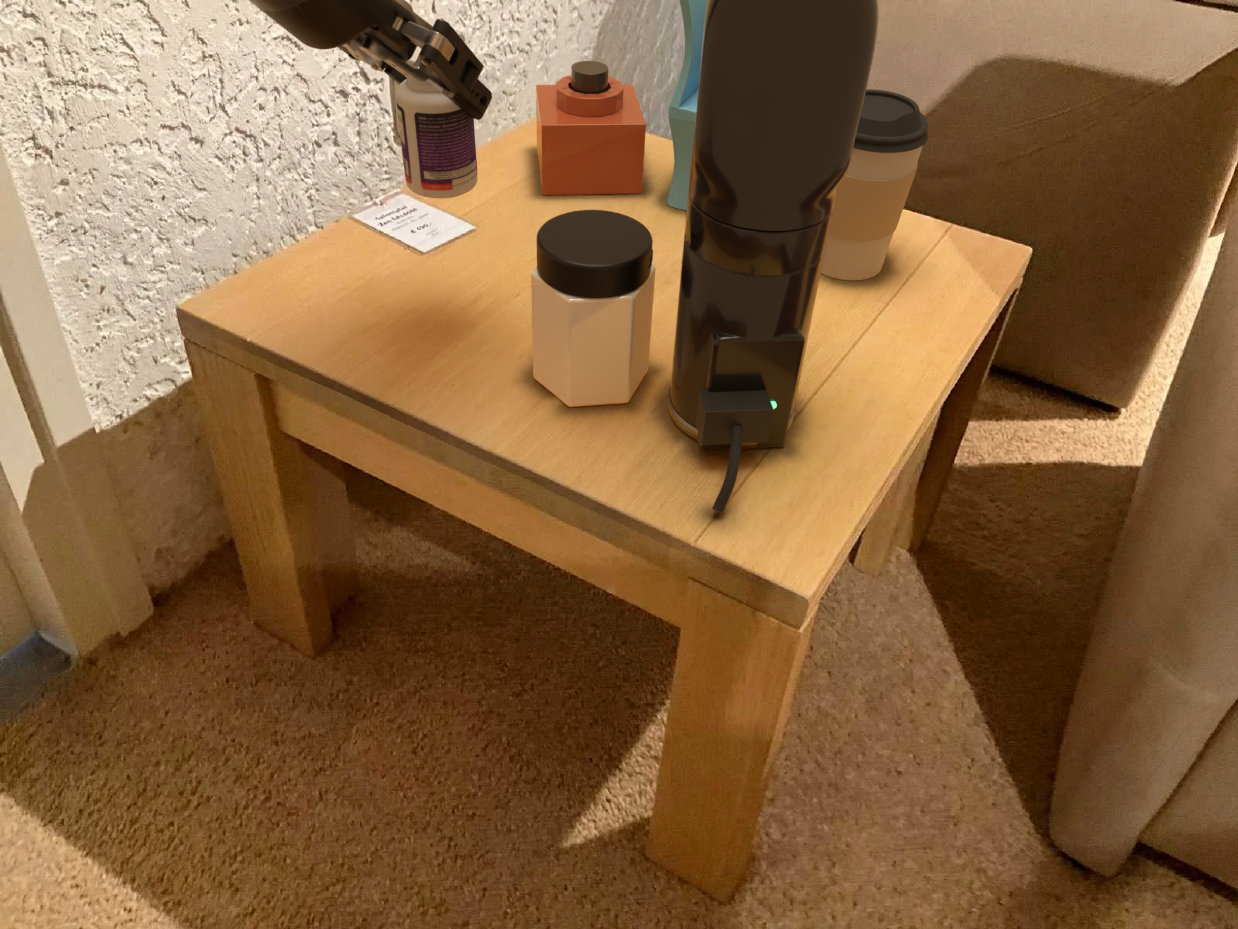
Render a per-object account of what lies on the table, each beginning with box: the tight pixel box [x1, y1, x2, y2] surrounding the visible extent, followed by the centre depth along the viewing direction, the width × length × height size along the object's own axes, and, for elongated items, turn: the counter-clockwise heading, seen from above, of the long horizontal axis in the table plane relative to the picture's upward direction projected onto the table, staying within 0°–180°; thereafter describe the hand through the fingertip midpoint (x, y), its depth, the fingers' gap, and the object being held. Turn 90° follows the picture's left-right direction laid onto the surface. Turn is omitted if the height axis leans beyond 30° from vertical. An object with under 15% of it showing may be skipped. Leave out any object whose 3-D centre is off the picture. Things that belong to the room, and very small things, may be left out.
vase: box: [666, 0, 706, 212], centre depth 94 cm, size 8×8×20 cm
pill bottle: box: [395, 46, 478, 200], centre depth 72 cm, size 5×5×10 cm
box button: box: [570, 60, 609, 94], centre depth 97 cm, size 4×4×2 cm
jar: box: [530, 209, 656, 408], centre depth 73 cm, size 9×8×12 cm
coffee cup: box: [821, 88, 929, 281], centre depth 87 cm, size 9×9×15 cm
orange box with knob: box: [535, 74, 647, 196], centre depth 100 cm, size 10×10×9 cm
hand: (452, 95), depth 72 cm, fingers closed on pill bottle, 5 cm apart
